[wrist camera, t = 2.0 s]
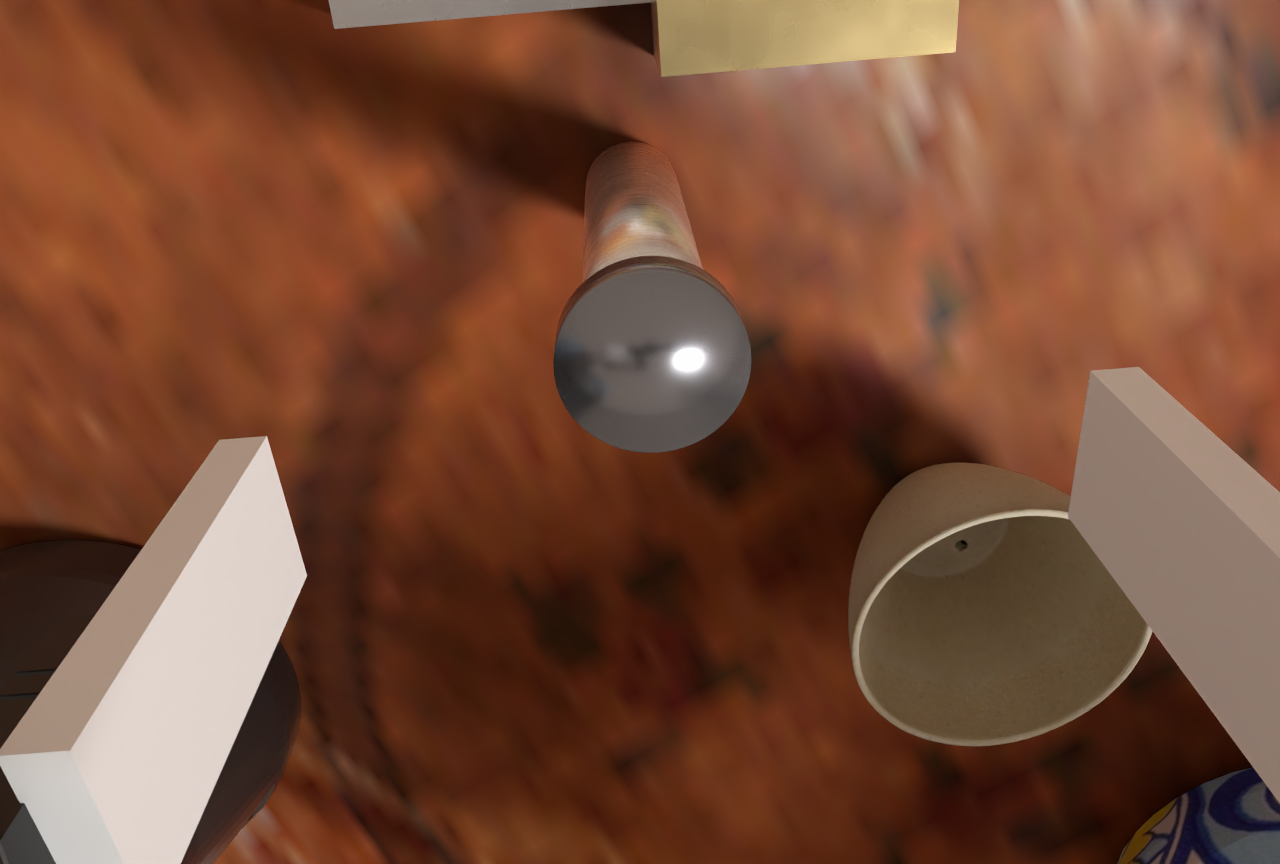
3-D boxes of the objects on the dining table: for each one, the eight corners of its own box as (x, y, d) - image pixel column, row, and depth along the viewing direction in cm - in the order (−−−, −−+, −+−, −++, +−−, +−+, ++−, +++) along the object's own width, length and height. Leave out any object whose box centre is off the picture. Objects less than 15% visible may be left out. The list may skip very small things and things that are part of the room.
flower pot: (778, 460, 38) (815, 574, 31) (1040, 366, 36) (1133, 466, 30) (851, 649, 42) (896, 782, 36) (1086, 573, 41) (1176, 697, 34)
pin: (577, 252, 33) (564, 460, 21) (563, 130, 32) (542, 281, 19) (695, 242, 33) (753, 444, 21) (689, 120, 32) (748, 263, 19)
